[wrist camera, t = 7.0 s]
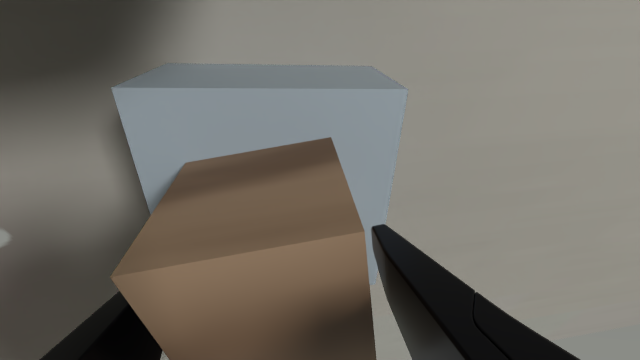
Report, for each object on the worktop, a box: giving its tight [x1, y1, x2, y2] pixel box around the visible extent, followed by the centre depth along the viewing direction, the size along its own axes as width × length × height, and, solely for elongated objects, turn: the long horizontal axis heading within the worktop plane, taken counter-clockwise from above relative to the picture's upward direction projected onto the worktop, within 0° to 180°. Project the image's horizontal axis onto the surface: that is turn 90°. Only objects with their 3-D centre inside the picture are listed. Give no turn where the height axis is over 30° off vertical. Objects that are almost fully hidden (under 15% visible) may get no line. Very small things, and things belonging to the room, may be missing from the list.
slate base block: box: [111, 63, 408, 285], centre depth 14 cm, size 9×9×5 cm
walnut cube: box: [110, 137, 376, 360], centre depth 9 cm, size 5×5×5 cm
